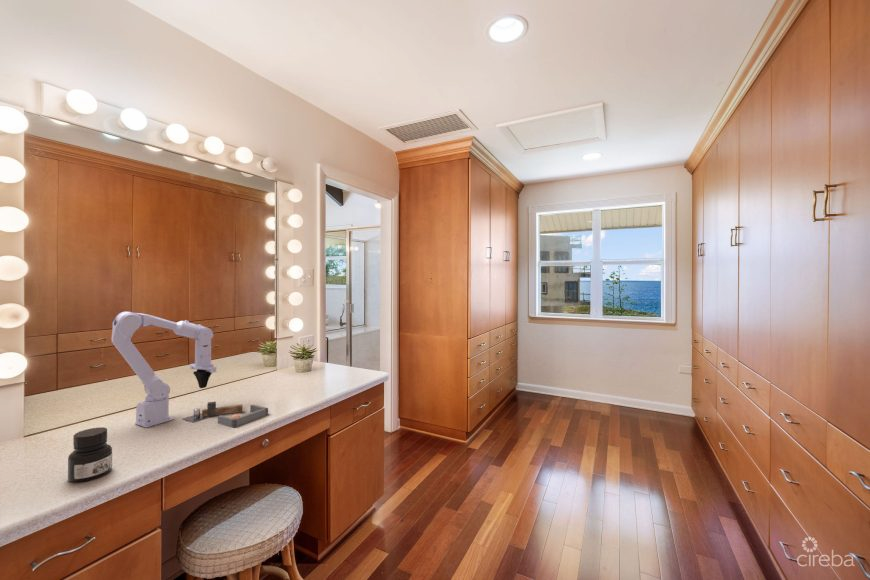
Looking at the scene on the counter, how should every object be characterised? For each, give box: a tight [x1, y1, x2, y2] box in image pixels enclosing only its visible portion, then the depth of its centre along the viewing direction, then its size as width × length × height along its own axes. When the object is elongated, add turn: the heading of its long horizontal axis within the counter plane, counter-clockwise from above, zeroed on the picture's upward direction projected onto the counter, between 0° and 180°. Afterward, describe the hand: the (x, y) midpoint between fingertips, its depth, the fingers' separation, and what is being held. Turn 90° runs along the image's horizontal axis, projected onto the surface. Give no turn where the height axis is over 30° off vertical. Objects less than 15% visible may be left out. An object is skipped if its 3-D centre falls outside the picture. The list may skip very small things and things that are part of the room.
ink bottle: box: [67, 426, 113, 483], centre depth 100 cm, size 10×9×12 cm
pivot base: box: [181, 407, 212, 423], centre depth 142 cm, size 7×7×4 cm
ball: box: [230, 413, 241, 419], centre depth 137 cm, size 4×4×4 cm
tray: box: [217, 404, 269, 429], centre depth 142 cm, size 15×9×3 cm, turn 155°
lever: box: [201, 401, 244, 417], centre depth 146 cm, size 14×4×5 cm, turn 119°
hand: (202, 387), depth 150 cm, fingers closed
